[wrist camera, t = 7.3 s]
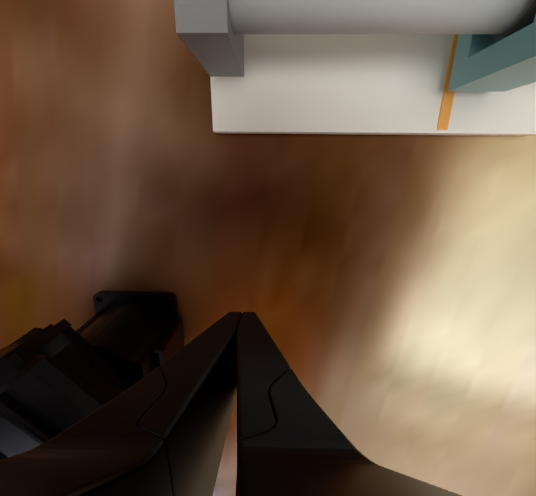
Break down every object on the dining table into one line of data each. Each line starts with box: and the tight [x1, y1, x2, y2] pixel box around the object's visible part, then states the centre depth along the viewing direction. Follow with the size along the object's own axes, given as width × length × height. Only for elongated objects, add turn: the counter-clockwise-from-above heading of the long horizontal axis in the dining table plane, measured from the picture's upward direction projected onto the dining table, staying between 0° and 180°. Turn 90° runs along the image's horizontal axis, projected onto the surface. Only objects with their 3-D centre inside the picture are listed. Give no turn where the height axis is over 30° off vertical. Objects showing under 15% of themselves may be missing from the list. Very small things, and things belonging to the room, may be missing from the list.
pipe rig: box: [174, 0, 536, 136], centre depth 13 cm, size 20×10×7 cm, turn 90°
